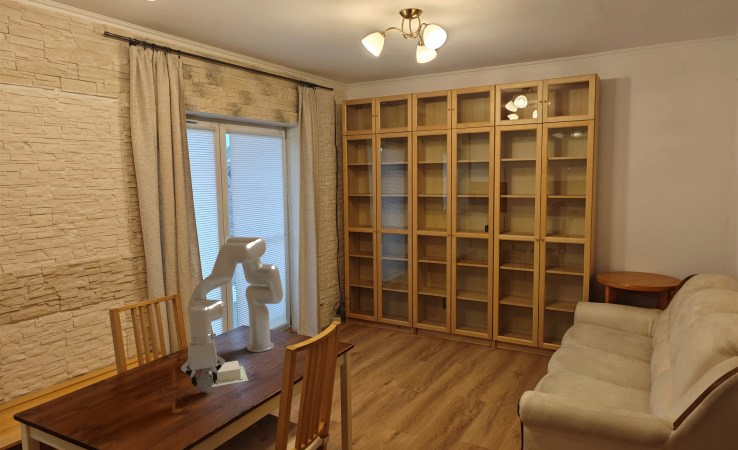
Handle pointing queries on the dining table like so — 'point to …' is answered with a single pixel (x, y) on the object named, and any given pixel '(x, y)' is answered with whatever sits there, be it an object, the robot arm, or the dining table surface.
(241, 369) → the base plate
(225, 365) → the cream brick
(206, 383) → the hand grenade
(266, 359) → the dining table surface
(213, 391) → the dining table surface
